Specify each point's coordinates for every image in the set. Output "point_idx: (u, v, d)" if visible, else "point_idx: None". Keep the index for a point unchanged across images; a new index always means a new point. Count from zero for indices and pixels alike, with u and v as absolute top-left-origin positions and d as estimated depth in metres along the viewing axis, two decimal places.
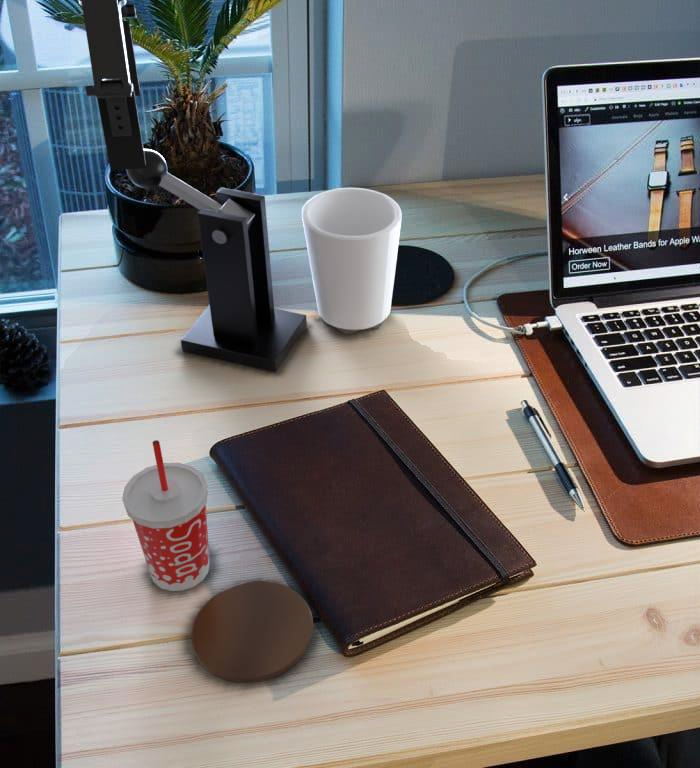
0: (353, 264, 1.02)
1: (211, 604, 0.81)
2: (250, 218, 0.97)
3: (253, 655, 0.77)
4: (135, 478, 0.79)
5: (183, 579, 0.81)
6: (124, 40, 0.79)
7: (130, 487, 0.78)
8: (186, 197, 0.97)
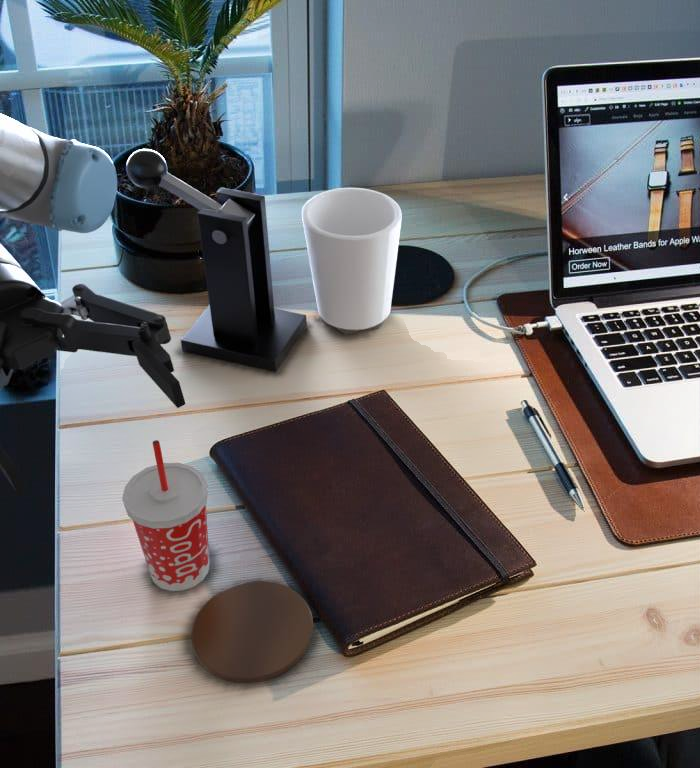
0: (353, 264, 1.02)
1: (211, 604, 0.81)
2: (250, 218, 0.97)
3: (253, 655, 0.77)
4: (135, 478, 0.79)
5: (183, 579, 0.81)
6: None
7: (130, 487, 0.78)
8: (186, 197, 0.97)
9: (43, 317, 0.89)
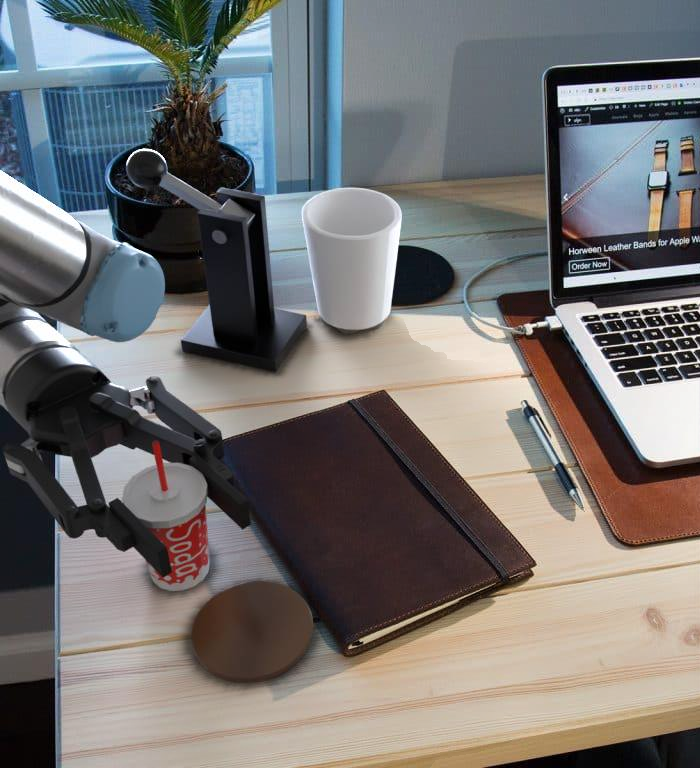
0: (353, 264, 1.02)
1: (211, 604, 0.81)
2: (250, 218, 0.97)
3: (253, 655, 0.77)
4: (134, 478, 0.79)
5: (183, 579, 0.81)
6: None
7: (130, 487, 0.78)
8: (186, 197, 0.97)
9: (114, 402, 0.84)
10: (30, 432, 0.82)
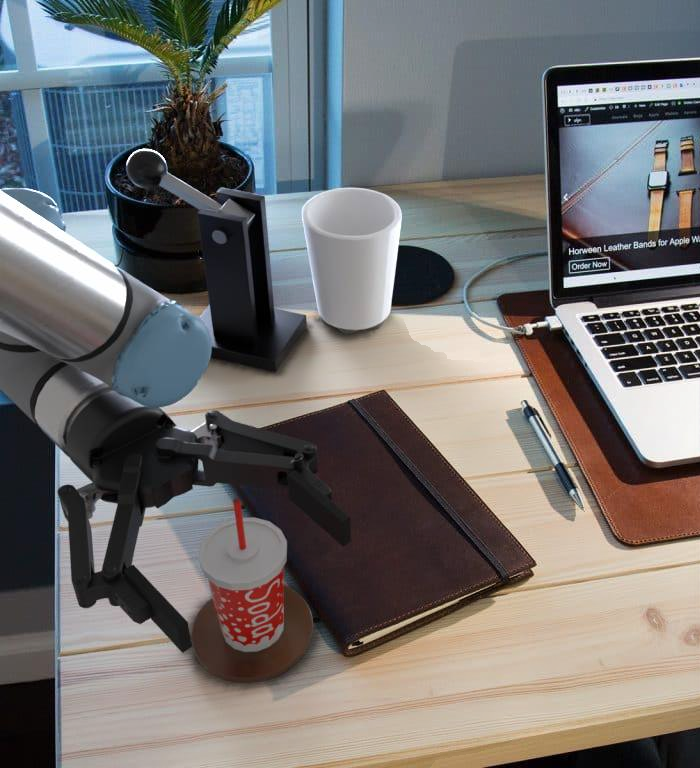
0: (353, 264, 1.02)
1: (211, 604, 0.81)
2: (250, 218, 0.97)
3: (253, 655, 0.77)
4: (210, 535, 0.74)
5: (259, 640, 0.77)
6: None
7: (206, 545, 0.74)
8: (186, 197, 0.97)
9: (182, 448, 0.79)
10: (95, 481, 0.77)
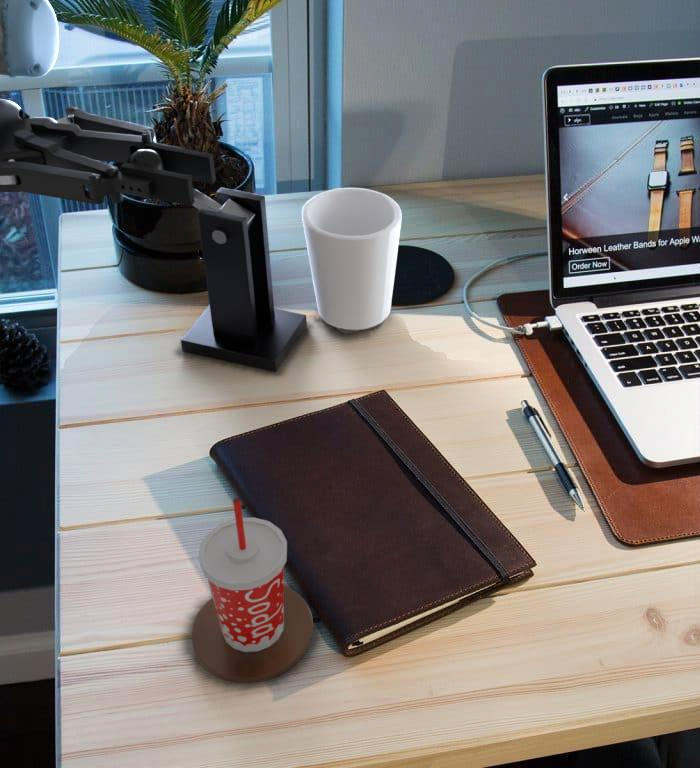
0: (353, 264, 1.02)
1: (211, 604, 0.81)
2: (250, 218, 0.97)
3: (253, 655, 0.77)
4: (210, 535, 0.74)
5: (259, 640, 0.77)
6: None
7: (206, 545, 0.74)
8: None
9: (53, 122, 0.98)
10: None
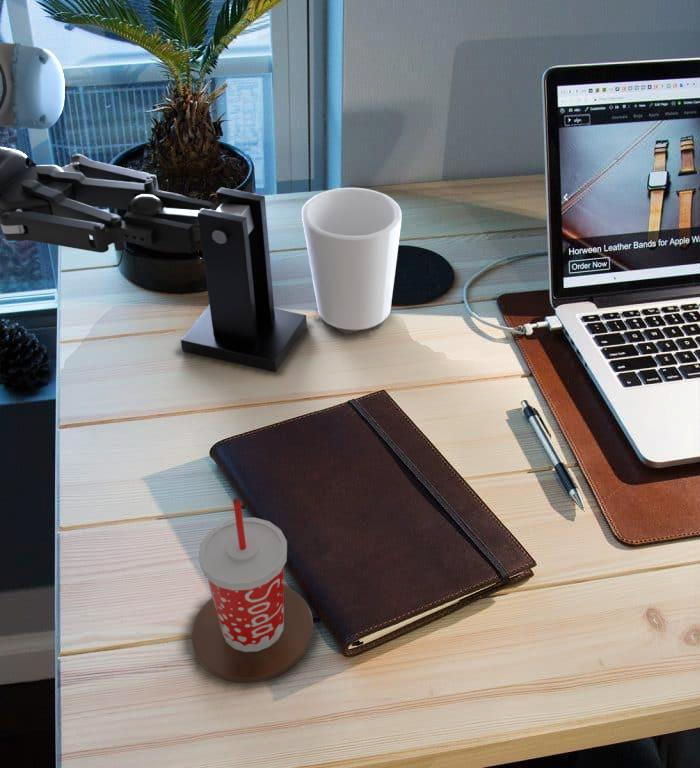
0: (353, 264, 1.02)
1: (211, 604, 0.81)
2: (244, 209, 0.97)
3: (253, 655, 0.77)
4: (210, 535, 0.74)
5: (259, 640, 0.77)
6: None
7: (206, 545, 0.74)
8: (185, 220, 0.98)
9: (58, 170, 1.02)
10: (4, 206, 0.98)
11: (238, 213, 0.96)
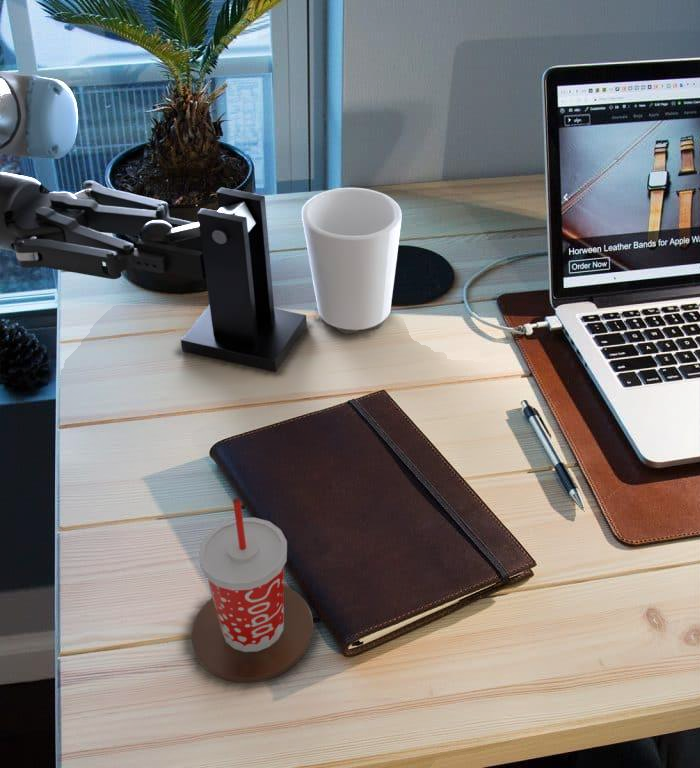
0: (353, 264, 1.02)
1: (211, 604, 0.81)
2: (239, 206, 0.97)
3: (253, 655, 0.77)
4: (210, 535, 0.74)
5: (259, 640, 0.77)
6: None
7: (206, 545, 0.74)
8: (191, 233, 0.99)
9: (72, 198, 1.03)
10: (18, 233, 0.99)
11: (233, 210, 0.96)
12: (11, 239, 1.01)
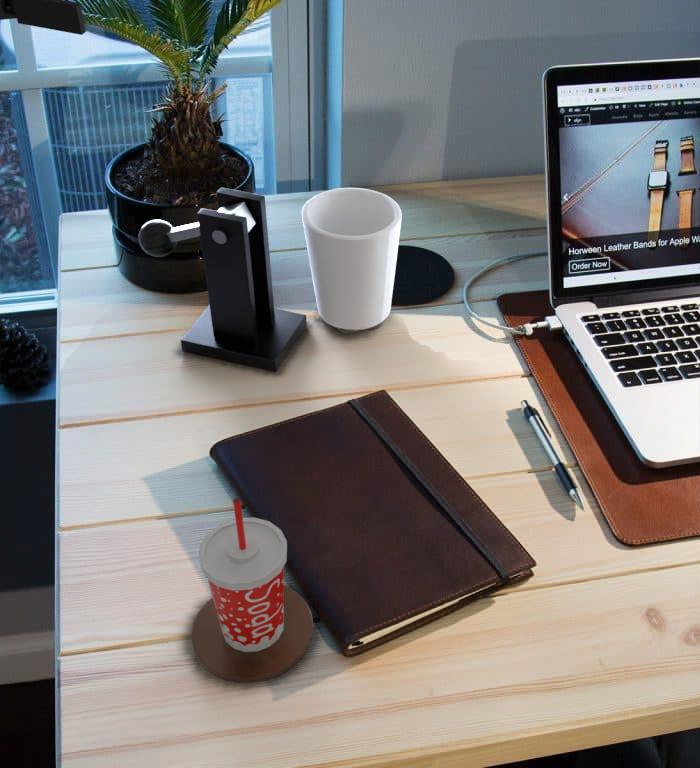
0: (353, 264, 1.02)
1: (211, 604, 0.81)
2: (239, 206, 0.97)
3: (253, 655, 0.77)
4: (210, 535, 0.74)
5: (259, 640, 0.77)
6: None
7: (206, 545, 0.74)
8: (191, 233, 0.99)
9: None
10: None
11: (233, 210, 0.96)
12: None
